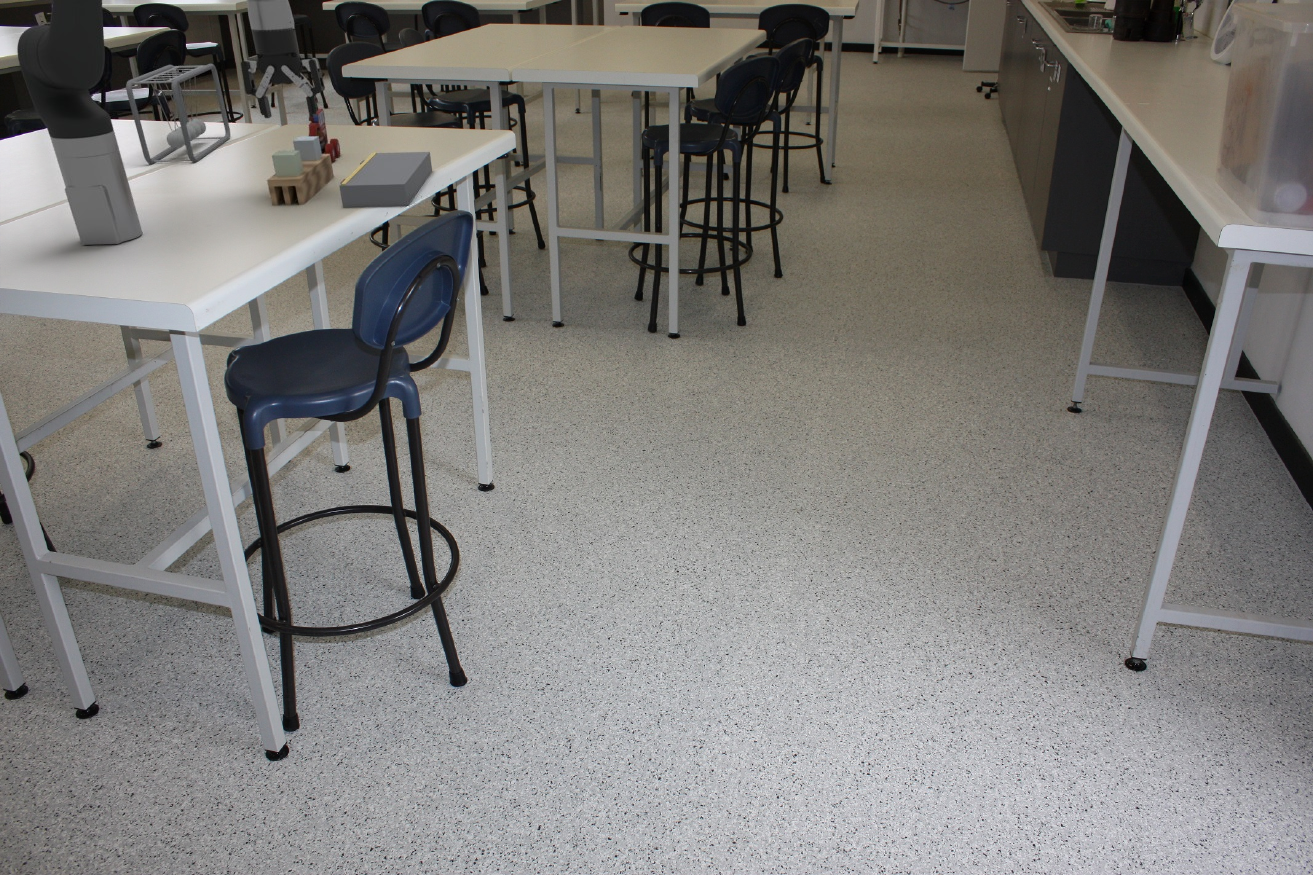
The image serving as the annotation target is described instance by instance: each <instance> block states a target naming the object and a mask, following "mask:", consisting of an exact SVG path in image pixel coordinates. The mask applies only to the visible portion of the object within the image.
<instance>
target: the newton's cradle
mask: <svg viewBox="0 0 1313 875" xmlns="http://www.w3.org/2000/svg"><path fill="white" fill-rule="evenodd" d="M186 68H187V69H186ZM190 68H191V69H190ZM178 69H183V71H185V72H183V73H180V74H178V71H177V70H178ZM210 70H211V73H212V74H211V75H212V78H213V82H214V83H213V84H214V87H215V90H216V91H215V92H216V96H217V100H218V105H219V108H220V109H219V110H220V114H221V117H222V121H223V122H222V123H223V127H224V132H225V135H224V136H209V137H200V136H201V135H203V134H204V133H205V132H206V131H207V130H206V129H207V126H206V123H205V122H204V120H202V119H200V118H198V117H194V115H193V110H192V109H193V108H192V104H190V105H189V103H188V100H187V99H186V97H187V96H186V92H183V89H186V81H187V80H191V79H192V78H194V88H195V91H194V93H195V95H197V85H196V81H197V80H196V78H195V77H196V76H199V75H200V74H202V73H205V72H207V71H210ZM163 75H164V76H165V77H164V76H163ZM171 75H172V76H171ZM218 75H219V74H218V70H217V68H216V66H215V64H214V63H208V64H206V65H205V64H204V65H203V64H202V65H178V66H177V65H175V66H174V65H172V64H168V65H167V64H166V65H165V66H162V67H160V68H158V69H156V70H153V71H150V72H147V73H145V74H142V75H138V76H137V77H134V78H131V79H128V81H127V82H126V84H125V90H126V95H127V98H128V102H129V106H130V110H131V113H132V116H133V120H134V121H133V122H134V125H135V129H136V132H137V136H138V139H139V142H140V147H141V150H142V154H143V157H144V160H145V161H146V162H147V164H149V165H154V164H155V163H171V162H172V163H175V162H191V163H194V164H195V163H198V162H199V161H200V160H202V159H203V158H205V157H206V156H207V155H209V154H210V153H211V152H213V151H214V150H216V149H217V148H219V147H220V146H221V145H223V144H224V143H226V142H227V141H229V140H230V137H231V128H230V123H229V120H228V116H227V115H228V114H227V111H226V107H225V100H224V97H223V96H224V95H223V92H222V88H221V84H220V80H219V76H218ZM159 77H161V78H162V80H159V79H158V78H159ZM165 78H168V79H165ZM152 80H153V81H152ZM181 83H183V85H184V88H182V87H181ZM137 84H138V85H139V84H141V85H143V84H144V85H145V84H150V85H151V86H152V89H153V91H154V94H155V95H156V99H157V101H158V103H159V105H160V107H161V109H162V112H163V114H164V116H165V120H166V122H167V123H168V126H169V128H170V130H171V131H170V132H169V133H168V134H167V135H166V142H167V144H168V145H169V147H168V148H166V149H164V150H162V151H161V152H159V153H158V154H156V155H155V156H152V157H151V156H150V152H149V148H148V144H147V142H146V136H145V133H144V129H143V125H142V122H141V118H140V115H139V112H138V111H139V110H138V107H137V104H136V100H135V96H134V93H133V86H134V85H137ZM153 84H158V86H159V88H160V91H161V92H162V95H163V98H164V99H165V102H166V104H167V107H168V109H169V111H170V113H171V116H172V118H173V120H174V123H175V125H174V129H172V127H171V124H170V122H169V120H168V117H167V115H166V113H165V111H164V108H163V106H162V104H161V101H160V99H159V97H158V94H157V93H156V90H155V88H154V85H153ZM160 84H164V85H165V87H166V89H167V91H168V93H169V95H170V97H171V100H172V102H173V112H172V109H171V107H170V104H169V103H168V100H167V99H166V98H167V97H166V96H165V94H164V91H163V90H162V87H161V85H160ZM167 84H171V92H172V94H171V92H170V89H169V87H168V85H167ZM189 96H190V100H192V87H191V84H189ZM197 101H198V100H197V99H195V110H196V111H195V112H196V113H195V114H196V116H198V106H197ZM187 107H188V108H189V111H190V116H191V119H190V120H189V117H188V113H187V112H188V111H187ZM175 109H176V110H175ZM176 111H177V116H178V121H179V125H180V126H178V124H177V121H176ZM176 127H177V128H176ZM228 139H229V140H228ZM193 140H216V141H215V142H213V144H211V145H209V146H207V148H205V149H203V150H202V151H201V152H199V153H198V154H197V155H195V154H194V152H193V147H192V143H191V142H192V141H193ZM184 145H185V148H186V149H185V150H186V153H187V157H188V158H187V159H185V158H184V159H163V158H165V157H166V156H168V155H170V154H171V153H173V152H174V151H176V150H177V149H182V148H183V147H184ZM194 155H195V156H194ZM161 159H163V160H161Z"/></svg>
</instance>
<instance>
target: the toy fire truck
mask: <svg viewBox="0 0 1313 875" xmlns="http://www.w3.org/2000/svg"><path fill="white" fill-rule="evenodd" d="M325 116H326V115H325V110H324V109H323V108H318V113H317V114H316V116H315V117H310V116H309V115H308V122H310V123H309V124H308V137H313V136H319V142H320V147H321V153H322V154H330V157H331V163H334V162H335V161H336V158H339V157H340V156H341V146H340V142H339V139H338V138H330V140H329V139H328V133H327V124H326V117H325Z"/></svg>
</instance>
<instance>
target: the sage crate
mask: <svg viewBox="0 0 1313 875" xmlns="http://www.w3.org/2000/svg"><path fill="white" fill-rule="evenodd" d="M271 157H272V162H273V163H272V164H273V167H274V168H273V169H274V174H276V177H298V176H299V175H300V174H301V173H303V172H304V171H303V166H302V160H301V155H300V150H295V149H294V150H278V151H276V152H275V153H273V154H271Z"/></svg>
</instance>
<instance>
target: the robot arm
mask: <svg viewBox="0 0 1313 875" xmlns="http://www.w3.org/2000/svg"><path fill="white" fill-rule="evenodd" d="M51 1H52V2H51V15H50V23H49V25H48V24H45V25H42V24H40V25H34V26H31V27H28V28H27V29H25V30H24V31H23V32H22V34H21V35H20V37H19V39H18V41H17V48H16V49H17V51H16V52H17V59H18V64H19V67H20V71H21V73H22V76H23V79H24V82H25V84H26V85H25V86H26V87H27V90H28V93H29V96H30V99H31V101H32V103H33V104H32V105H33V107H34V110H35V112H36V113H37V116H38V117H39V118H40V120H41V121H42V122H43V124H44V125H45V127H46V129H47V132H48V135H49V138H50V140H51V144H52V147H53V151H54V154H55V158H56V160H57V164H58V167H59V169H60V170H59V171H60V173H61V177H62V180H63V183H64V187H65V188H64V193H65V195H66V199H67V201H68V205H69V208H70V211H71V215H72V218H73V221H74V224H75V228H76V230H77V233H78V236H79V241H80V243H81V245H82V246H84V245H87V246H89V245H92V246H93V245H118V244H121V243H123V242H127V241H130V240H133V239H136V238H139V237H140V236H142V235H143V230H142V225H141V222H140V219H139V215H138V211H137V208H136V205H135V201H134V198H133V197H134V196H133V193H132V189H131V186H130V183H129V179H128V175H127V173H126V169H125V168H126V167H125V165H124V161H123V158H122V155H121V151H120V146H119V144H118V140H117V136H116V133H115V130H114V127H113V126H114V125H113V122H112V119H111V116H110V114H109V113H108V112H107V111H106V110H104V108H102V107H100V105H98V103H96V101H95V100H94V98H93V97H92V96H91V94H90V91H89V90H90V89H92V88H93V87H95V86H96V85H97V84H98V83H99V82H100V81H101V78H102V77H103V74H104V69H105V62H106V61H105V59H106V58H105V57H106V55H105V53H106V52H105V38H104V37H105V36H104V34H105V33H104V16H103V0H51ZM246 4H247V14H248V20H249V24H250V29H251V33H252V38H253V43H254V47H255V53H256V58H257V59H256V60H251V59H244V60H242V61H241V62H240V67H241V72H242V73H241V74H242V79H243V85H244V91H245V93H246V95H248V96H249V95H250V96H254V97H255V98H256V99H257V103H258V108H259V113H260V114H261V116H263V117H264V119H270V118H271V117H272V109H271V105H270V101H269V96H267V93H268V91H269V90H270V88H271V86H272V84H273V85H281V84H284V85H292V84H295V85H296V87H297V88H299V89H300V90H301V91H302V92H303V93H305V95H306V97H305V100H306V105H307V110H308V117H309V116H310V117H315V116H316V114H317V113H318V109H319V105H318V101H317V100H318V99H317V95H318V94H320V93H322V92H324V91H326V90H325V89H326V86H325V82H324V78H323V73H322V69H321V66H320V62H319V59H318V58H317V57H312V58H311V59H309V58H308V59H303V58H302V56H301V55H300V51H299V50H300V49H299V44H298V39H297V34H296V33H297V32H296V28H295V20H294V17H293V13H292V9H291V6H290V1H289V0H246ZM304 67H305V68H306V70H307V71H308V72H310V75H311V77H312V78H311V79H312V81H313V85H312V84H311V83H310V82H309V80H308V78H306V77H305V76H304V75H303V73H302V71H303V69H304ZM257 69H258V70H259V71H260V72H261V74H262V75H263V77H262V79H261V81H260V82H259V86H258V87H256V82H255V75H254V73H256V70H257Z"/></svg>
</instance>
